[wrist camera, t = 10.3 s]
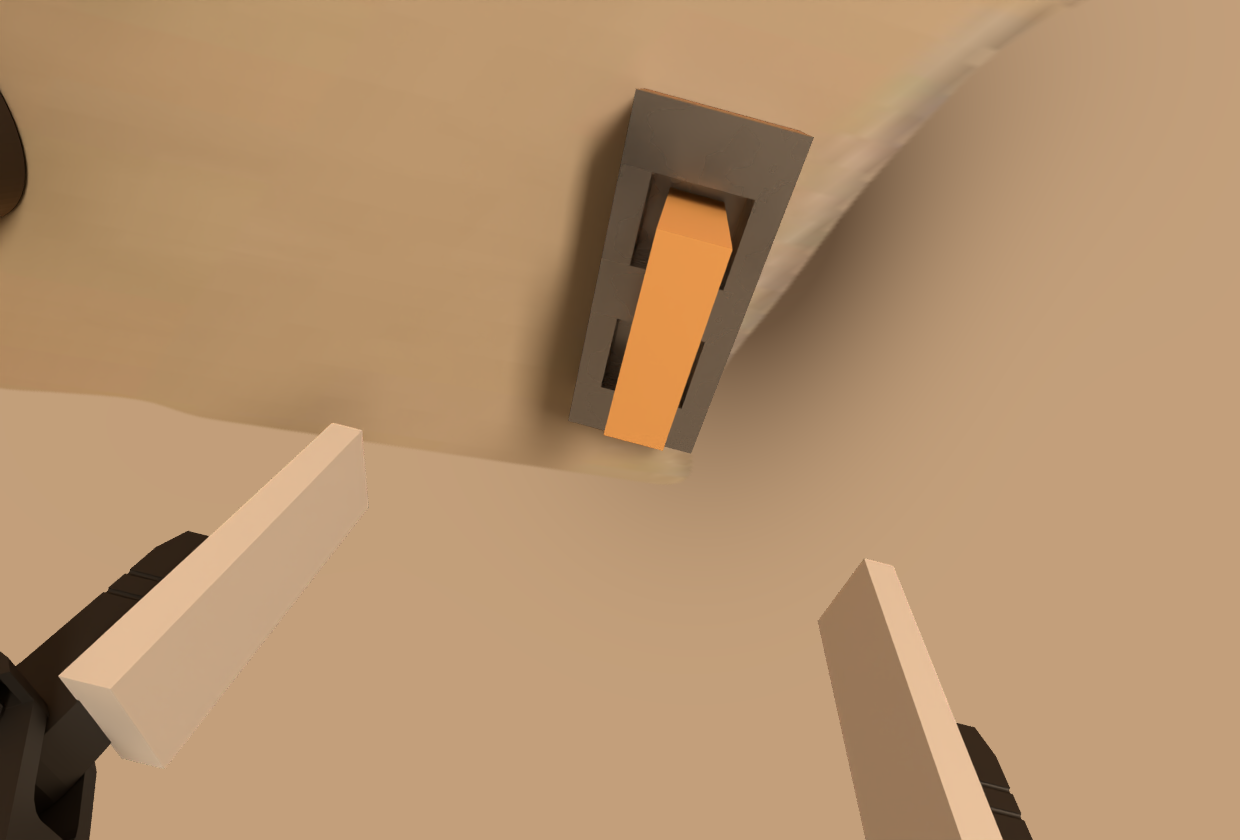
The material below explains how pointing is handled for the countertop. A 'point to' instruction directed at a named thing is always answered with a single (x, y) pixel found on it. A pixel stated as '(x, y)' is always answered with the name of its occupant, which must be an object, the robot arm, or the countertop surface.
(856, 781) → the robot arm
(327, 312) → the countertop surface
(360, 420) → the countertop surface
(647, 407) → the orange u-shaped block
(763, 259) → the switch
